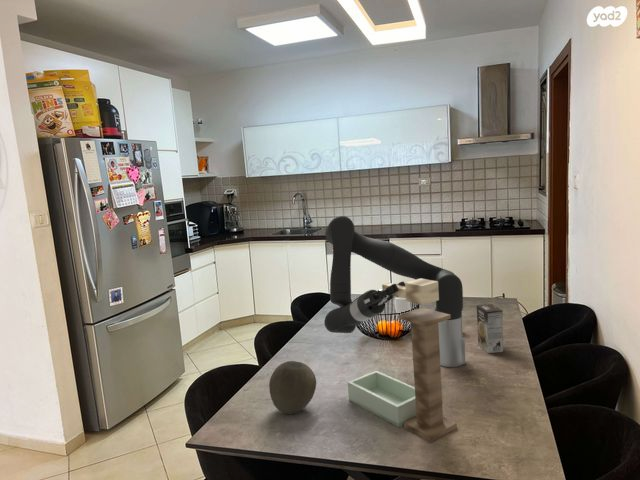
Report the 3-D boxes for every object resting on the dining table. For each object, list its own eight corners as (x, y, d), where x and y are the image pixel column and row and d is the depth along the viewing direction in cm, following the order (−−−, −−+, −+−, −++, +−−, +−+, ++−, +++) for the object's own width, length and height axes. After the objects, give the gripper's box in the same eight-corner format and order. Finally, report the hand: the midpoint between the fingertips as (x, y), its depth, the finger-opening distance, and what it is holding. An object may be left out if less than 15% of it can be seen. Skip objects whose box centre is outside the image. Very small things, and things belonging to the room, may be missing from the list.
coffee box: (477, 345, 186) (475, 304, 184) (493, 343, 187) (492, 303, 184) (487, 353, 177) (486, 311, 175) (504, 351, 178) (503, 309, 175)
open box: (349, 400, 150) (347, 382, 149) (377, 387, 157) (376, 370, 156) (398, 427, 132) (397, 407, 131) (428, 412, 139) (427, 392, 138)
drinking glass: (412, 327, 212) (411, 294, 210) (410, 332, 206) (408, 299, 203) (397, 327, 214) (395, 294, 212) (395, 332, 208) (392, 298, 206)
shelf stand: (404, 427, 132) (397, 315, 127) (428, 414, 138) (423, 307, 133) (431, 442, 124) (425, 323, 119) (456, 428, 129) (451, 314, 125)
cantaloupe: (300, 426, 137) (296, 376, 135) (262, 416, 145) (257, 369, 143) (326, 403, 149) (322, 358, 147) (289, 395, 156) (285, 352, 154)
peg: (378, 294, 136) (377, 277, 135) (393, 289, 139) (392, 273, 138) (423, 305, 122) (422, 286, 121) (438, 300, 125) (438, 281, 124)
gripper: (344, 299, 143) (376, 278, 129) (379, 289, 150) (412, 268, 137) (354, 323, 140) (387, 304, 127) (388, 312, 148) (423, 292, 135)
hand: (400, 285), depth 132 cm, fingers closed on peg, 2 cm apart
